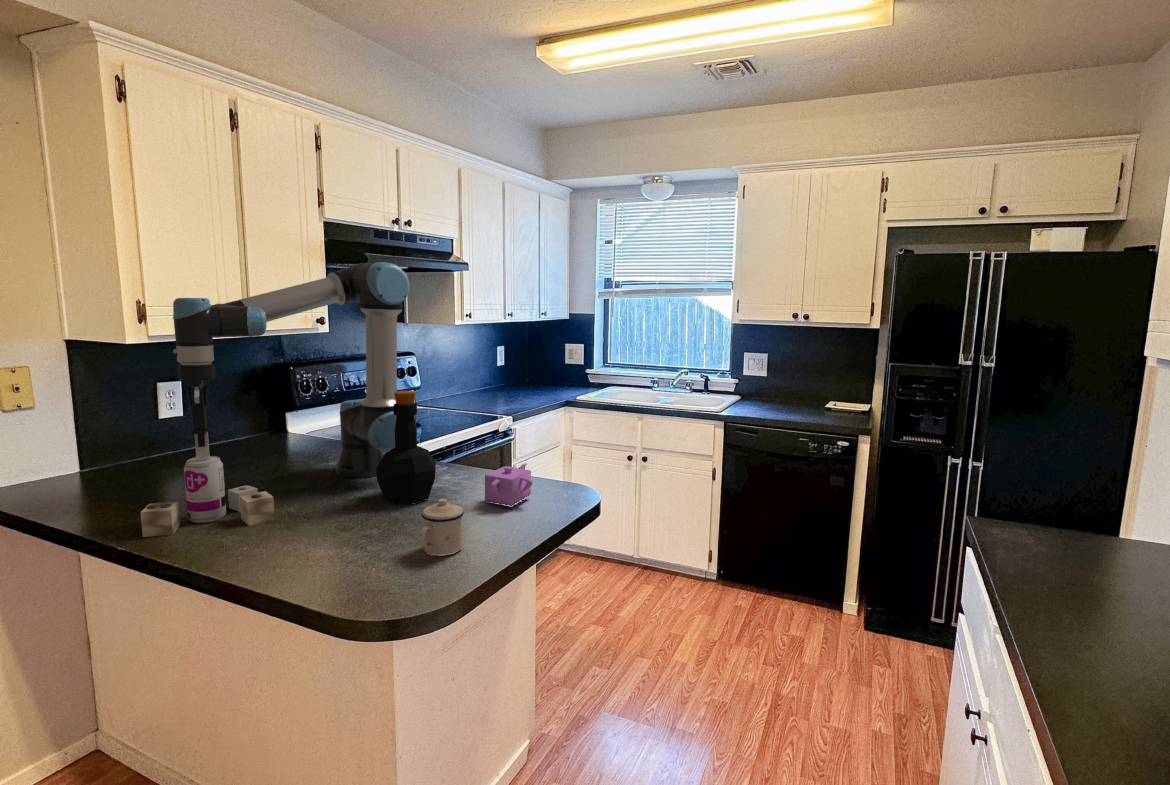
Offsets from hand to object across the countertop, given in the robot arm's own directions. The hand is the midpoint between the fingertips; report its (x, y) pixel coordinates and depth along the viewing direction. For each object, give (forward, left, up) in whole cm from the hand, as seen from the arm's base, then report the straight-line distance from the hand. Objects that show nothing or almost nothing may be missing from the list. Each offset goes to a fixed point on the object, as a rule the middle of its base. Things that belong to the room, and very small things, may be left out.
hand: (203, 458), depth 153 cm
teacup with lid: (-46, +44, -16) cm, 66 cm away
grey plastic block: (-8, -5, -15) cm, 18 cm away
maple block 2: (-11, +6, -15) cm, 20 cm away
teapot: (-73, +20, -16) cm, 77 cm away
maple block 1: (+9, +5, -15) cm, 19 cm away
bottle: (-48, +5, -16) cm, 51 cm away
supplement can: (0, 0, -16) cm, 16 cm away
